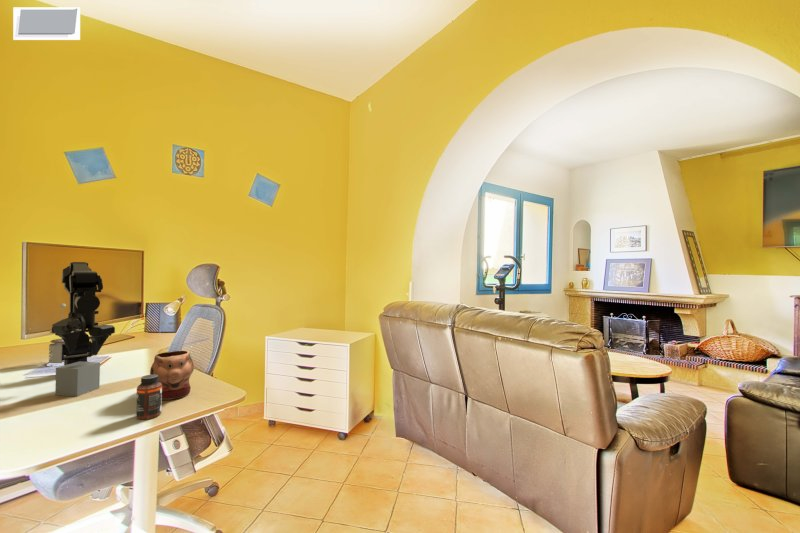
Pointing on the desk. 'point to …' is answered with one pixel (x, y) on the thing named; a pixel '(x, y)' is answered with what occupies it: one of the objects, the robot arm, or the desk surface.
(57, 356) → the french press
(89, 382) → the gray cube
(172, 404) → the desk surface
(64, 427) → the desk surface
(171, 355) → the decorative planter
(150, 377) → the supplement bottle
